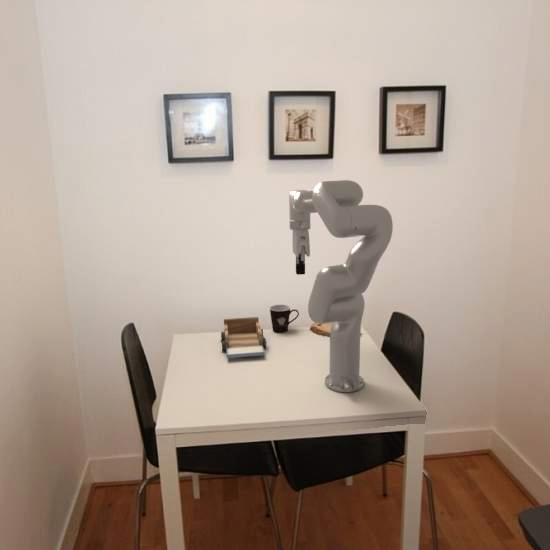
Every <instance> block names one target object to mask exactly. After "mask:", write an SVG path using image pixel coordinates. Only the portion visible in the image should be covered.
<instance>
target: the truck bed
mask: <svg viewBox="0 0 550 550" xmlns="http://www.w3.org/2000/svg"><path fill="white" fill-rule="evenodd" d="M220 336H221V337H220V338H221V350H222V352H225V354H227V348H237V347H250V346H263V348H264V349H265V348H267V339H266V338H265V337H264V330H263V328H261V325H260V321H259V316H250V317H238V318H237V317H236V318H235V317H234V318H224V319H223V331H221V332H220Z"/></svg>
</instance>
